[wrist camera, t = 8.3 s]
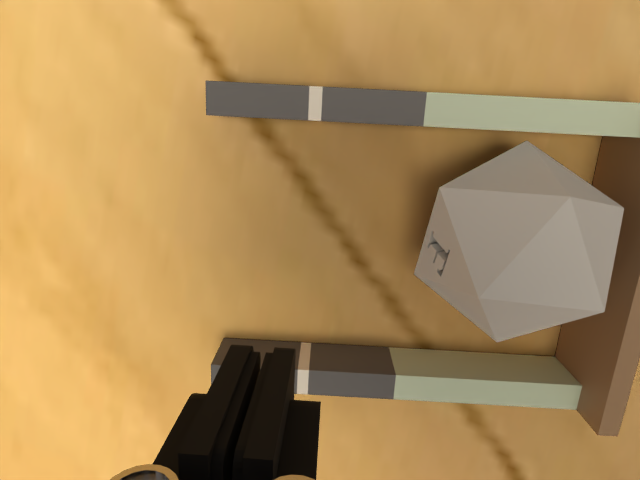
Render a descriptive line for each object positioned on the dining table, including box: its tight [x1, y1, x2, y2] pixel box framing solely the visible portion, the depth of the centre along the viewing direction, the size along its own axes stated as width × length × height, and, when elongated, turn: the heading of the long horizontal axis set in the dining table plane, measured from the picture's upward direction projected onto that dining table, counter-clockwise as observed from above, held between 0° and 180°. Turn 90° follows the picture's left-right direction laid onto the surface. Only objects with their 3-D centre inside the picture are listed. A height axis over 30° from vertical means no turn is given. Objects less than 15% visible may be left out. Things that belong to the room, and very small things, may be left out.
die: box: [414, 141, 624, 342], centre depth 21 cm, size 8×9×10 cm
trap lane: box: [206, 81, 640, 436], centre depth 22 cm, size 21×16×5 cm
